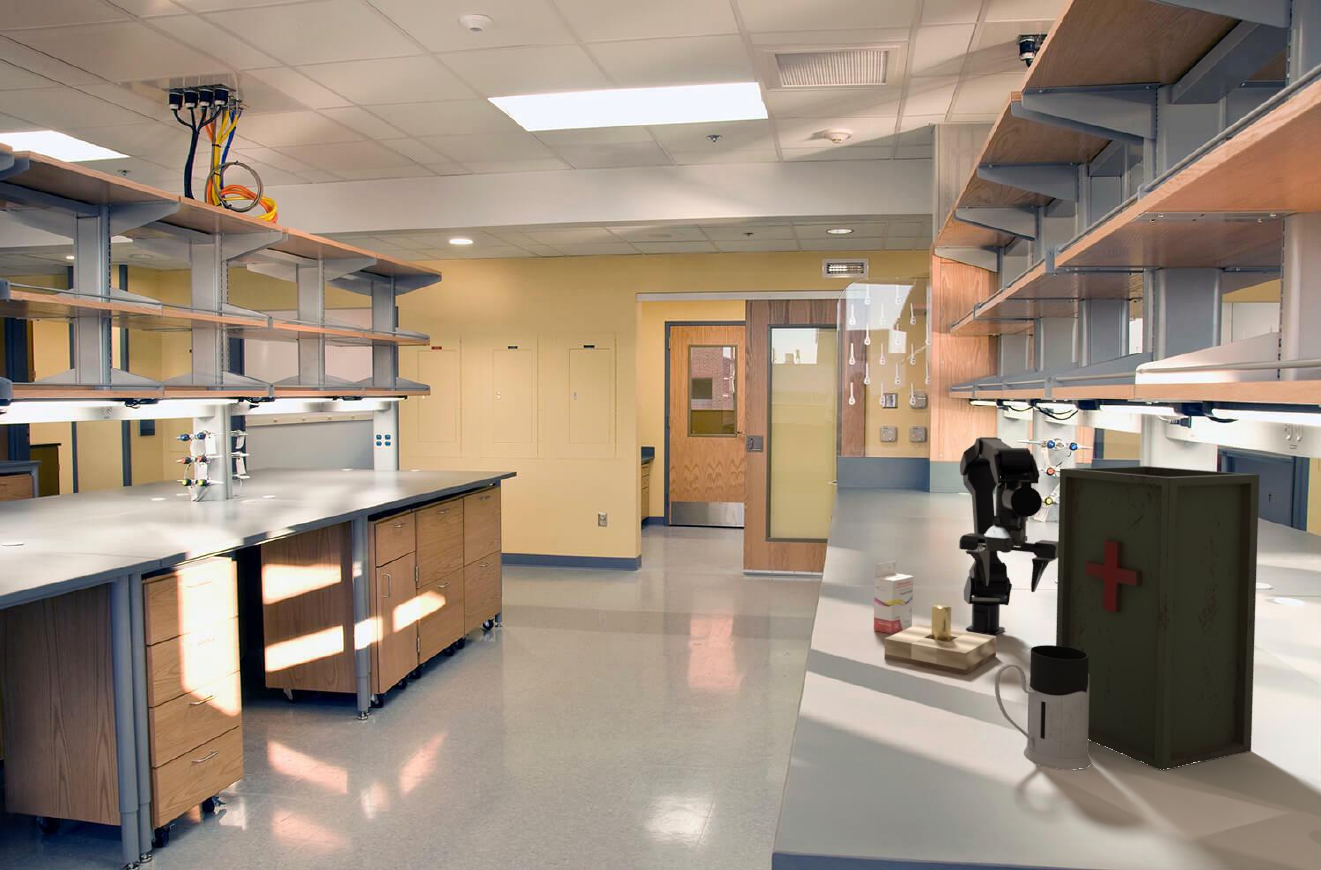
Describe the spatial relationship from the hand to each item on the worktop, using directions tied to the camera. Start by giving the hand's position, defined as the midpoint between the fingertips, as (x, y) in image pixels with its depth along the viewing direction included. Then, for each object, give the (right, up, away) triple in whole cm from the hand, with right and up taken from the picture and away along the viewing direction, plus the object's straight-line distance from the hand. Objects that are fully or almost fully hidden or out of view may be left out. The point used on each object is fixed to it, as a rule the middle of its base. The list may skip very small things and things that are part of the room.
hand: (1009, 588), depth 181 cm
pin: (-15, -12, -3) cm, 19 cm away
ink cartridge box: (-18, -12, +19) cm, 29 cm away
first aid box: (+4, -15, -45) cm, 48 cm away
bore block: (-15, -13, -3) cm, 20 cm away
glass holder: (-16, -15, -54) cm, 58 cm away
